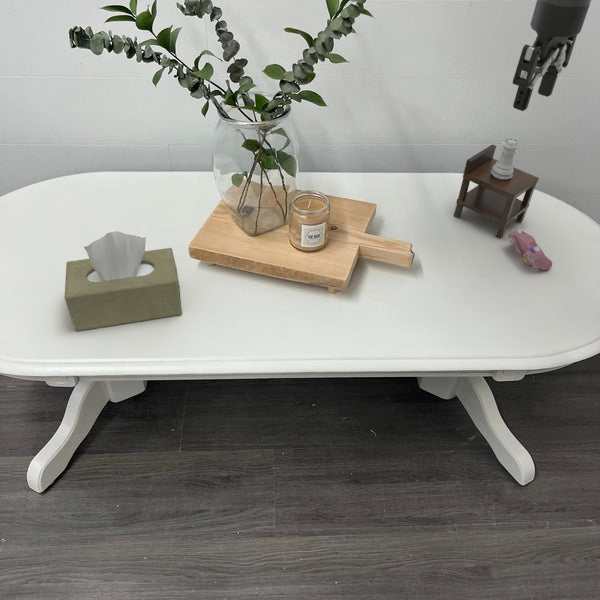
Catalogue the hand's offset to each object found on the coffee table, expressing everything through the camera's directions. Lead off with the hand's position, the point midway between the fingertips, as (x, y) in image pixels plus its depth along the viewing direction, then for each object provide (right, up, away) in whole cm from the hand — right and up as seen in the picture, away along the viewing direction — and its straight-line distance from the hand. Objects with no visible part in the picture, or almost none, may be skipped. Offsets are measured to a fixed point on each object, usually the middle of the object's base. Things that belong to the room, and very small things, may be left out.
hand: (532, 101), depth 97 cm
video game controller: (+7, -25, +21) cm, 33 cm away
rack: (+3, -15, +31) cm, 34 cm away
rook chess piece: (+3, -8, +23) cm, 25 cm away
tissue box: (-70, -35, +8) cm, 79 cm away
